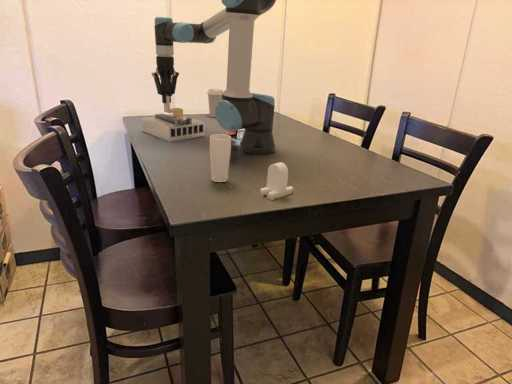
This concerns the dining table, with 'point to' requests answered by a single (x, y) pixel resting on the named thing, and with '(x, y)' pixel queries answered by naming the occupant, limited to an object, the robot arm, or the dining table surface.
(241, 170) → the dining table surface
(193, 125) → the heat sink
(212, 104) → the coffee cup
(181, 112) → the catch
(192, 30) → the robot arm
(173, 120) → the strap
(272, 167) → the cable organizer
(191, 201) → the dining table surface
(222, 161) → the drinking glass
